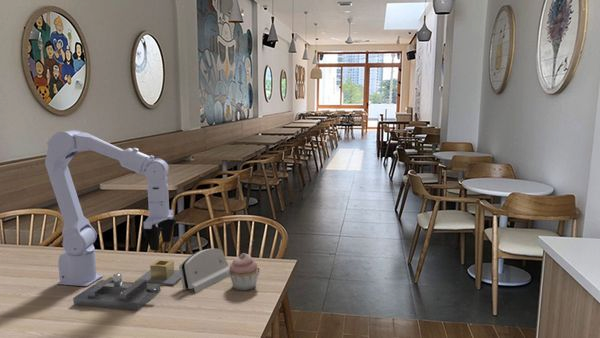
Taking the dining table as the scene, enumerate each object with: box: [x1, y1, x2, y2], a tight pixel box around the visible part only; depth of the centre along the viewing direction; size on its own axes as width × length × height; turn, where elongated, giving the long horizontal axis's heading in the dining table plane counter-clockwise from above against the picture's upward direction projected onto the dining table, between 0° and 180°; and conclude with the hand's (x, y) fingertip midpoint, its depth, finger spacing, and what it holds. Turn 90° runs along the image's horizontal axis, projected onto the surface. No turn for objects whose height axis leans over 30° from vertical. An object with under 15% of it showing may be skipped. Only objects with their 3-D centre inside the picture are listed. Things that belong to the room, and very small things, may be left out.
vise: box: [73, 272, 162, 312], centre depth 121 cm, size 20×12×6 cm, turn 80°
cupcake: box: [227, 252, 261, 291], centre depth 128 cm, size 9×9×10 cm
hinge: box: [178, 248, 230, 294], centre depth 133 cm, size 17×5×10 cm, turn 149°
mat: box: [134, 269, 182, 287], centre depth 135 cm, size 12×10×1 cm
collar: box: [149, 259, 175, 280], centre depth 135 cm, size 5×5×4 cm
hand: (160, 245), depth 134 cm, fingers open, 7 cm apart
